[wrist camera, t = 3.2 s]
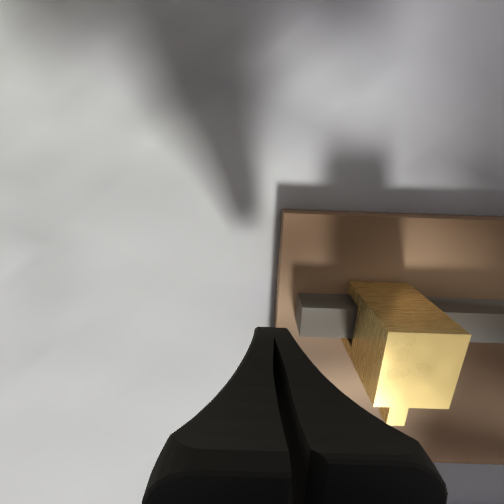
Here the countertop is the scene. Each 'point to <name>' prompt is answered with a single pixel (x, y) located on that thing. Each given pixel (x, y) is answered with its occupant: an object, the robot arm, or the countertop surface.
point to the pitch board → (425, 282)
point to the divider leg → (404, 349)
